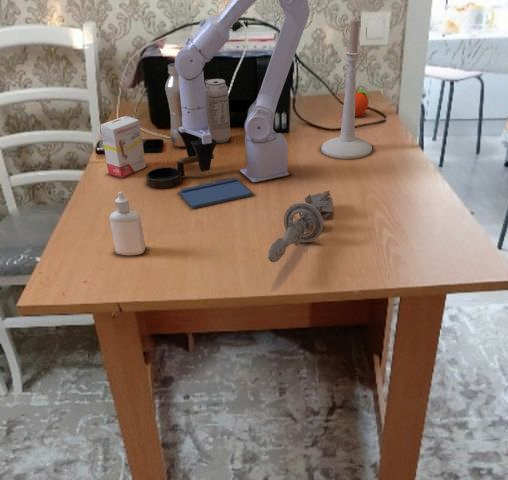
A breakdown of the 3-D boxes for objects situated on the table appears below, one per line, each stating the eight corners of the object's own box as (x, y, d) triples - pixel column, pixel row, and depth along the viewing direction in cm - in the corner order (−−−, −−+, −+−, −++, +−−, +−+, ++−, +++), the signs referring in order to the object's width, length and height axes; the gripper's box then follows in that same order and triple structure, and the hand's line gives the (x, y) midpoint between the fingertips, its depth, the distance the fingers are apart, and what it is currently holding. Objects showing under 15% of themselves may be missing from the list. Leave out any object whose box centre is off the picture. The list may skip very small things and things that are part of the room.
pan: (153, 191, 136) (150, 172, 133) (143, 179, 141) (140, 160, 138) (220, 177, 141) (218, 158, 138) (208, 166, 146) (206, 148, 143)
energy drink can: (229, 135, 163) (226, 77, 154) (231, 142, 159) (228, 83, 149) (207, 137, 163) (203, 79, 153) (209, 144, 158) (204, 85, 149)
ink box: (121, 178, 142) (112, 128, 134) (108, 174, 144) (98, 125, 137) (147, 167, 147) (140, 118, 140) (133, 163, 150) (125, 115, 142)
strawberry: (373, 113, 174) (375, 87, 170) (368, 120, 169) (370, 94, 165) (346, 111, 177) (348, 85, 172) (340, 118, 172) (342, 92, 167)
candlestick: (331, 138, 159) (338, 11, 140) (378, 144, 154) (391, 14, 135) (313, 154, 150) (318, 21, 131) (362, 161, 145) (373, 24, 127)
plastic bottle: (167, 148, 157) (156, 67, 144) (178, 139, 162) (170, 60, 149) (188, 151, 155) (180, 68, 142) (200, 142, 160) (192, 62, 147)
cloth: (236, 181, 138) (235, 177, 138) (251, 195, 132) (251, 191, 131) (179, 193, 134) (179, 188, 134) (192, 208, 128) (192, 204, 127)
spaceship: (241, 241, 99) (283, 231, 95) (305, 182, 126) (340, 172, 122) (257, 284, 102) (298, 275, 98) (317, 217, 129) (351, 208, 125)
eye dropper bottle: (134, 260, 111) (123, 200, 104) (112, 252, 114) (100, 193, 106) (149, 250, 114) (139, 191, 107) (127, 243, 117) (116, 185, 109)
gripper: (167, 100, 136) (173, 157, 145) (187, 117, 126) (193, 178, 134) (195, 95, 139) (200, 152, 147) (218, 112, 128) (222, 172, 137)
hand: (199, 164), depth 141 cm, fingers open, 7 cm apart
